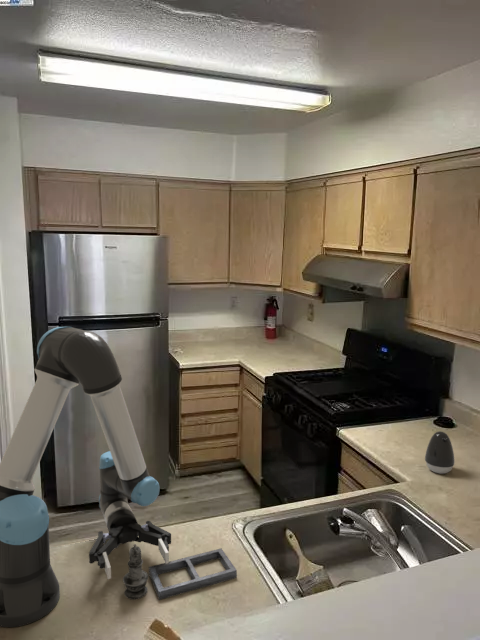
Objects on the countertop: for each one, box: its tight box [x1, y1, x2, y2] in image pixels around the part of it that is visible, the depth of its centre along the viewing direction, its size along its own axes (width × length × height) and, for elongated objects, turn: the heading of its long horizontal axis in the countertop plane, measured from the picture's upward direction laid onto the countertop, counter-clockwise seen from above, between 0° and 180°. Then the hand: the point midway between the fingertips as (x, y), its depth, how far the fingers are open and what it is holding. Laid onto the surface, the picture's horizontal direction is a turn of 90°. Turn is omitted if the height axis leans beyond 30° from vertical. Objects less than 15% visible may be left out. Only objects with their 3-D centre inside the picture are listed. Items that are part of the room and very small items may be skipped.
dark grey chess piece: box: [122, 544, 149, 601], centre depth 113 cm, size 6×6×12 cm
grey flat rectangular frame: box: [148, 547, 238, 601], centre depth 119 cm, size 20×10×2 cm, turn 114°
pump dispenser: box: [424, 430, 456, 474], centre depth 180 cm, size 10×10×15 cm
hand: (139, 565), depth 112 cm, fingers open, 13 cm apart
